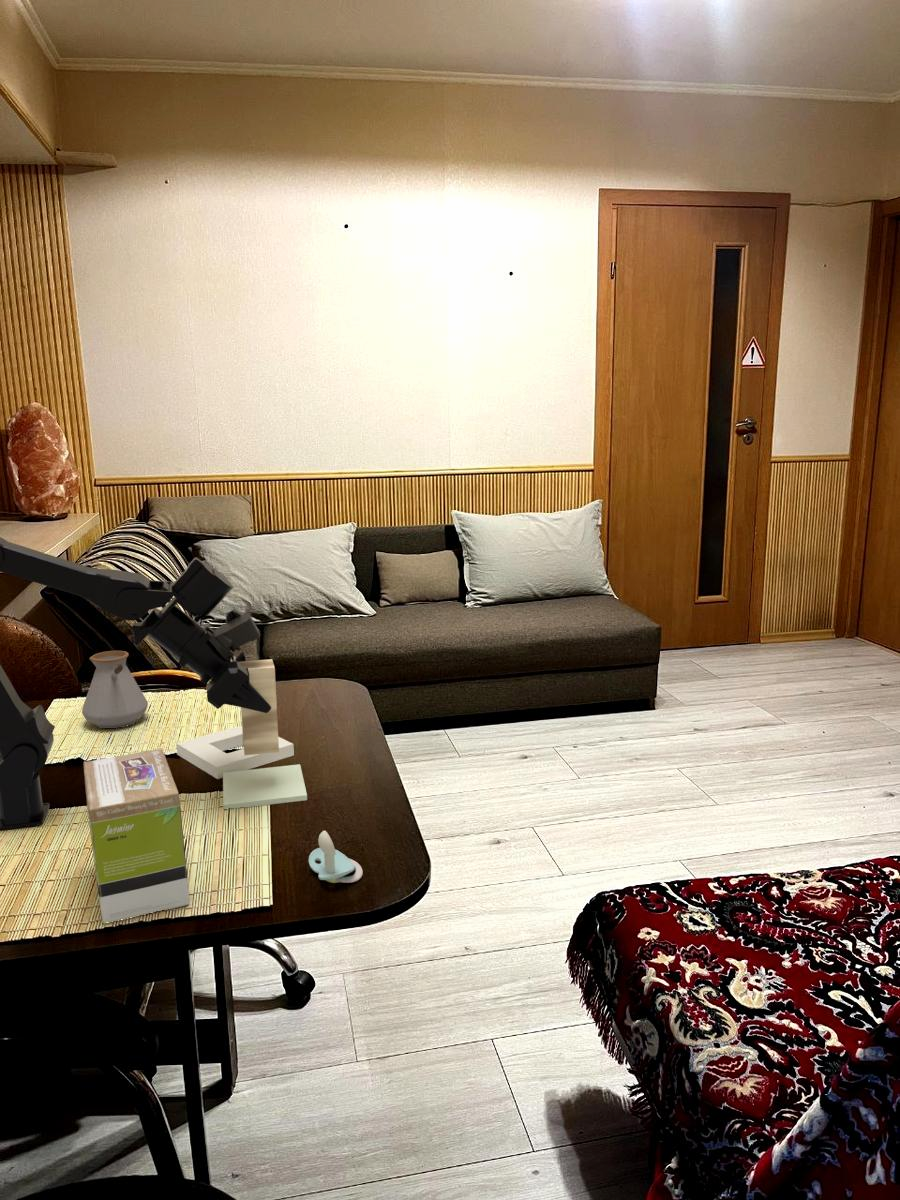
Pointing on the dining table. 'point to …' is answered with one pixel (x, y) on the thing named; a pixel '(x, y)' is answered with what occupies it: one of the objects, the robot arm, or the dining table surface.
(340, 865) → the pacifier
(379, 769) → the dining table surface
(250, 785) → the sage mat
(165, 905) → the tea box
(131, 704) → the coffee pot
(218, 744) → the pocket holder
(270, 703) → the birch block
